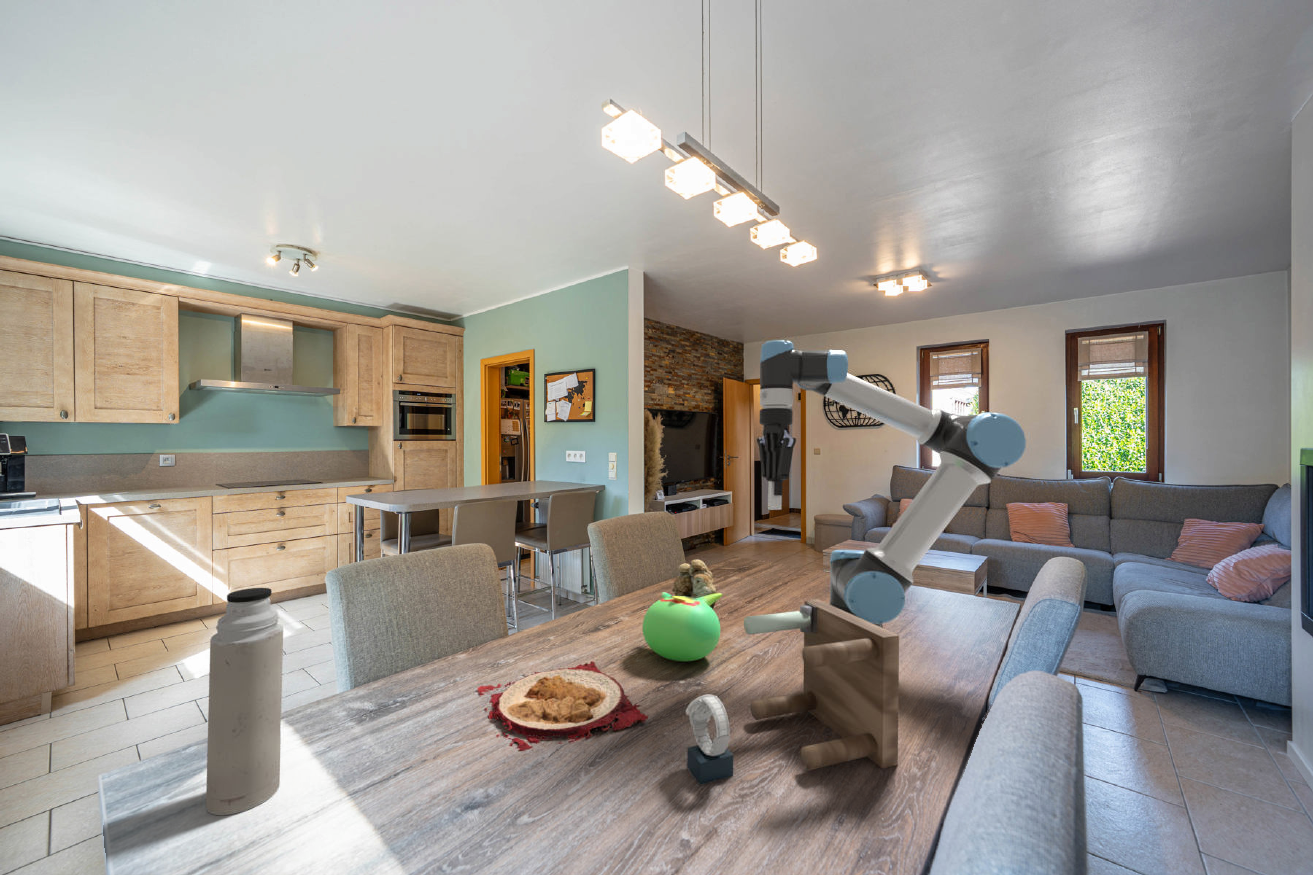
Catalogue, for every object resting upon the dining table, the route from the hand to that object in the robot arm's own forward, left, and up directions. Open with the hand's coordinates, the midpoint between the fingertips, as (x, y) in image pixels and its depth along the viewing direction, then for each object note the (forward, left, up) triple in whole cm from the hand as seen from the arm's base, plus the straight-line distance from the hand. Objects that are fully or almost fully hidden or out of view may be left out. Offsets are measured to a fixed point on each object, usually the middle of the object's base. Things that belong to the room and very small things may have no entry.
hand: (774, 509), depth 124 cm
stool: (+12, +32, -34) cm, 48 cm away
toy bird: (+20, -7, -35) cm, 41 cm away
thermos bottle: (+96, +18, -35) cm, 104 cm away
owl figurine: (+7, -29, -35) cm, 46 cm away
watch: (+33, +34, -35) cm, 59 cm away
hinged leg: (+15, +24, -19) cm, 34 cm away
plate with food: (+51, +7, -35) cm, 62 cm away
